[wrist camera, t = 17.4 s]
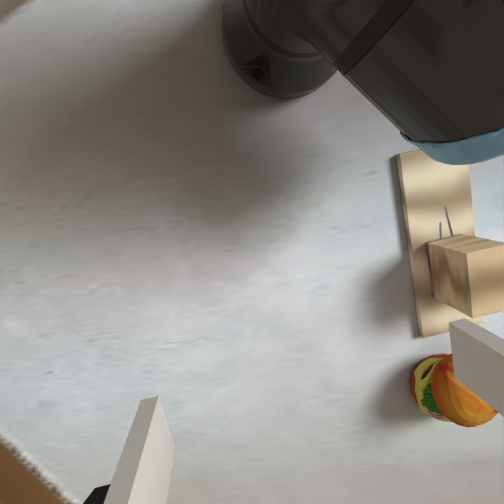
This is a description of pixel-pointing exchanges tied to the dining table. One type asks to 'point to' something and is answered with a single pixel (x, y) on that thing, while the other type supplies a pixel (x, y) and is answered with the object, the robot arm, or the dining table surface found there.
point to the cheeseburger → (447, 394)
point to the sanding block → (467, 273)
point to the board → (433, 227)
